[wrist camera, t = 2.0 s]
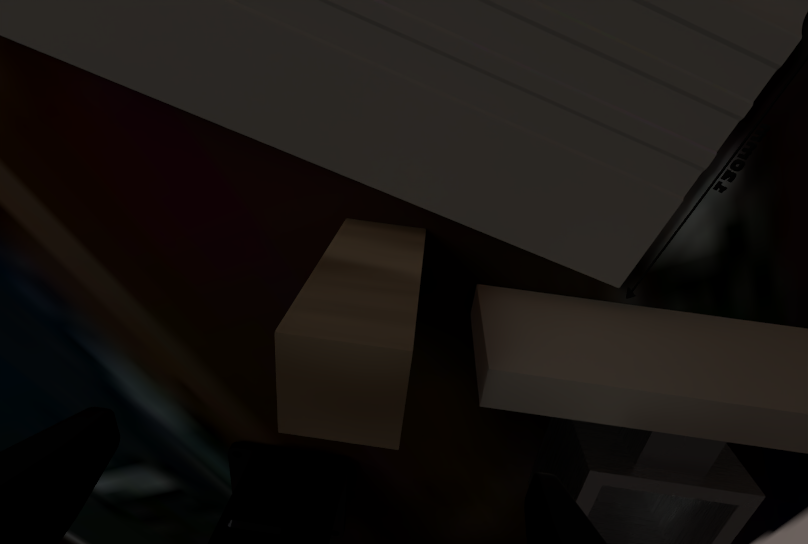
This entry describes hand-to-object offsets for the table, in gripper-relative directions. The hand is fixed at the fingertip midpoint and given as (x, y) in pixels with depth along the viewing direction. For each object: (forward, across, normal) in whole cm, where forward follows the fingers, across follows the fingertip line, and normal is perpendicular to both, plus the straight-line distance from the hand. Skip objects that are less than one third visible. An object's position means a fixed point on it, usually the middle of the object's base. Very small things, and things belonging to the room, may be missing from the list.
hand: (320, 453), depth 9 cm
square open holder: (+8, -11, +6) cm, 15 cm away
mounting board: (+10, -11, +1) cm, 15 cm away
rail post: (+10, 0, 0) cm, 10 cm away
